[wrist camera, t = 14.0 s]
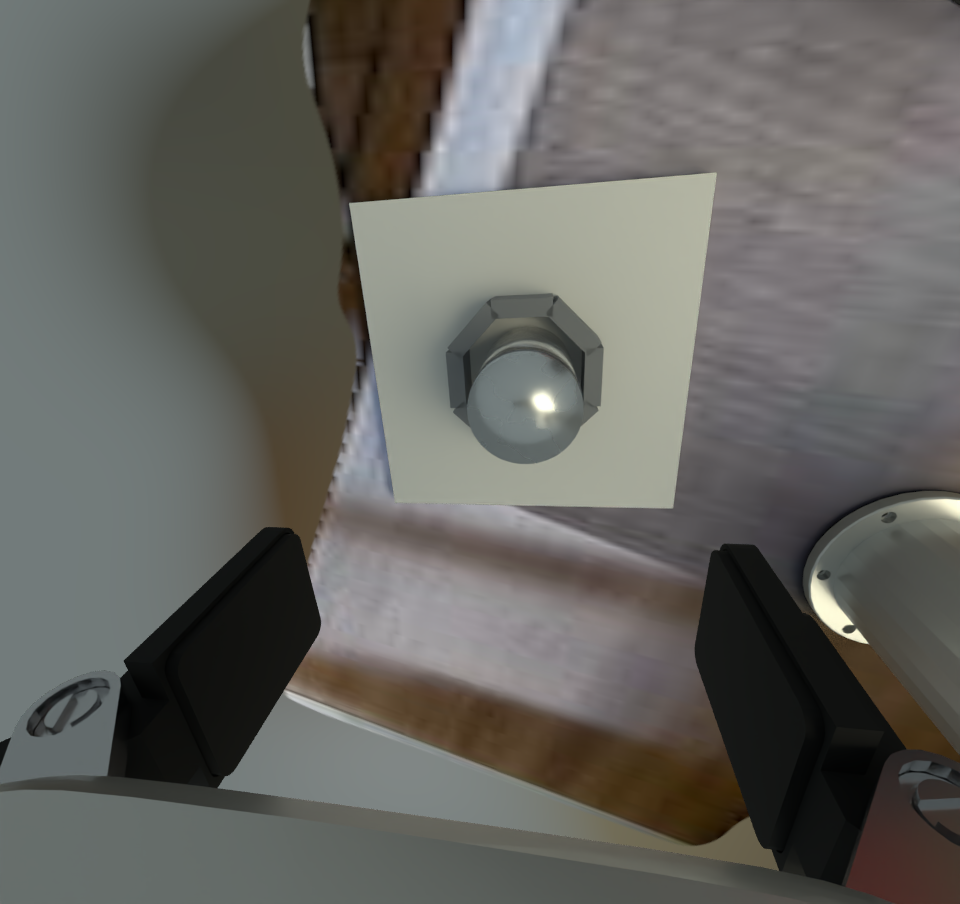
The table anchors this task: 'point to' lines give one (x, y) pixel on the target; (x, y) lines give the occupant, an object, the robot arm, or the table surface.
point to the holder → (546, 304)
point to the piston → (526, 397)
